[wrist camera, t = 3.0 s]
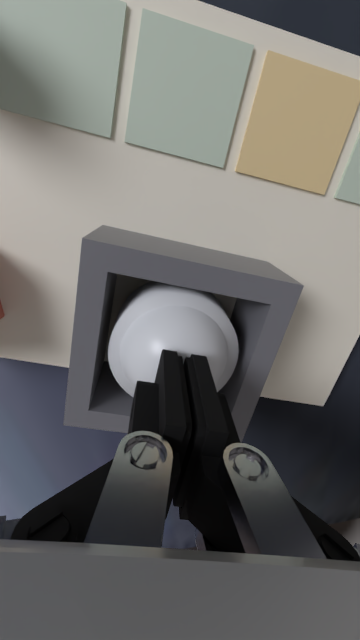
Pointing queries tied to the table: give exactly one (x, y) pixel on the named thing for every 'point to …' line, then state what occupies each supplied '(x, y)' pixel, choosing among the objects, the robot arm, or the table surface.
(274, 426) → the table surface
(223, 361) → the dome
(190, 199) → the board
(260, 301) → the dome housing
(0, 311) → the die
